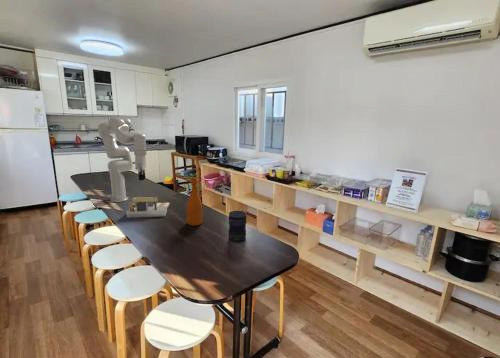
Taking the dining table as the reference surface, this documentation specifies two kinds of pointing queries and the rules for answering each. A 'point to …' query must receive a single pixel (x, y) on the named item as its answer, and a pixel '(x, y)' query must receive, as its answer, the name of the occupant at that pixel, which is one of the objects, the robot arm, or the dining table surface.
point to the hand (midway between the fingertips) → (142, 179)
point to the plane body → (146, 211)
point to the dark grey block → (142, 206)
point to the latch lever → (145, 199)
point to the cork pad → (162, 204)
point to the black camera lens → (237, 226)
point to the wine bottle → (194, 206)
